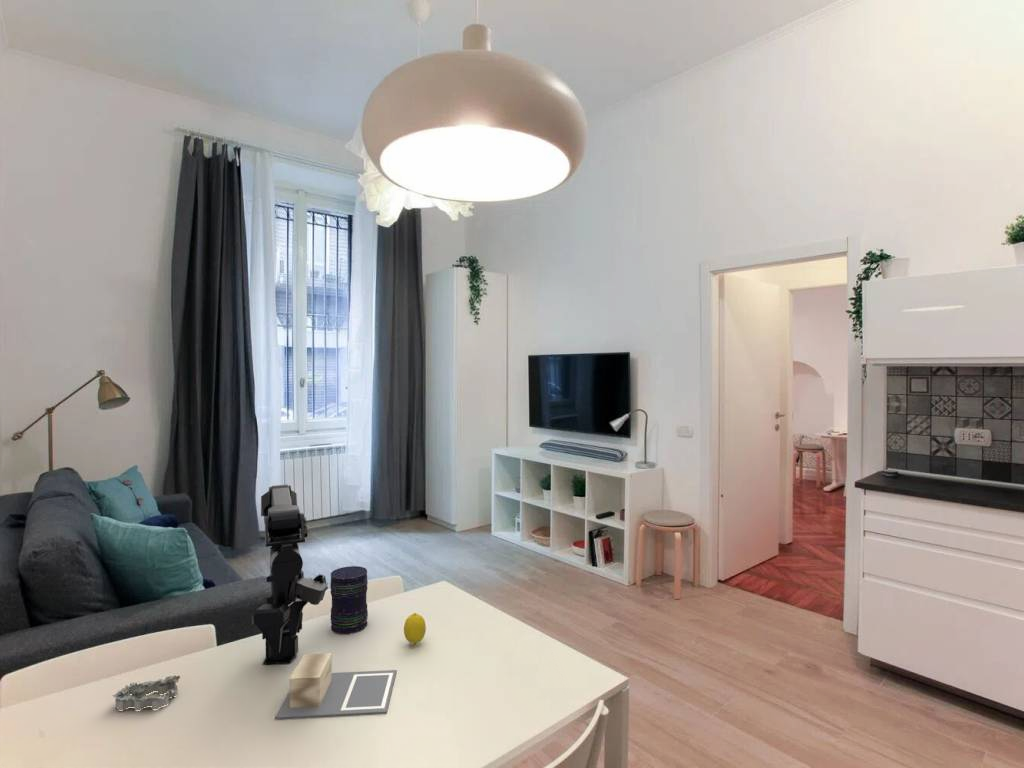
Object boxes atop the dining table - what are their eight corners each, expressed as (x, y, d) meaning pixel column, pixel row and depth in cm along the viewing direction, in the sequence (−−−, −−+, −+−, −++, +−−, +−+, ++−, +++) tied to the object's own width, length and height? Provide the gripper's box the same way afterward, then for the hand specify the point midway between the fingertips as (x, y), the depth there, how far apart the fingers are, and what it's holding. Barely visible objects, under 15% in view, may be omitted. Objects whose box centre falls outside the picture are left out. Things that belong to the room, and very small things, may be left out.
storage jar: (334, 619, 155) (334, 566, 154) (370, 617, 156) (370, 565, 155) (326, 635, 145) (326, 579, 145) (364, 633, 146) (364, 577, 146)
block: (289, 707, 112) (289, 678, 112) (304, 681, 122) (304, 654, 122) (319, 706, 112) (319, 677, 112) (331, 679, 122) (331, 653, 122)
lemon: (421, 650, 136) (421, 618, 136) (400, 648, 138) (400, 616, 138) (428, 640, 142) (428, 609, 142) (408, 638, 143) (408, 607, 143)
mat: (274, 719, 109) (274, 717, 109) (299, 676, 125) (299, 674, 125) (386, 713, 111) (386, 711, 111) (396, 671, 127) (396, 669, 127)
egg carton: (183, 693, 119) (183, 674, 119) (160, 714, 111) (160, 694, 111) (134, 692, 119) (134, 674, 119) (108, 713, 111) (108, 693, 111)
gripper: (307, 579, 107) (308, 661, 106) (335, 556, 126) (336, 625, 125) (250, 582, 107) (250, 664, 106) (286, 558, 126) (287, 628, 125)
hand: (285, 643), depth 115 cm, fingers open, 9 cm apart
